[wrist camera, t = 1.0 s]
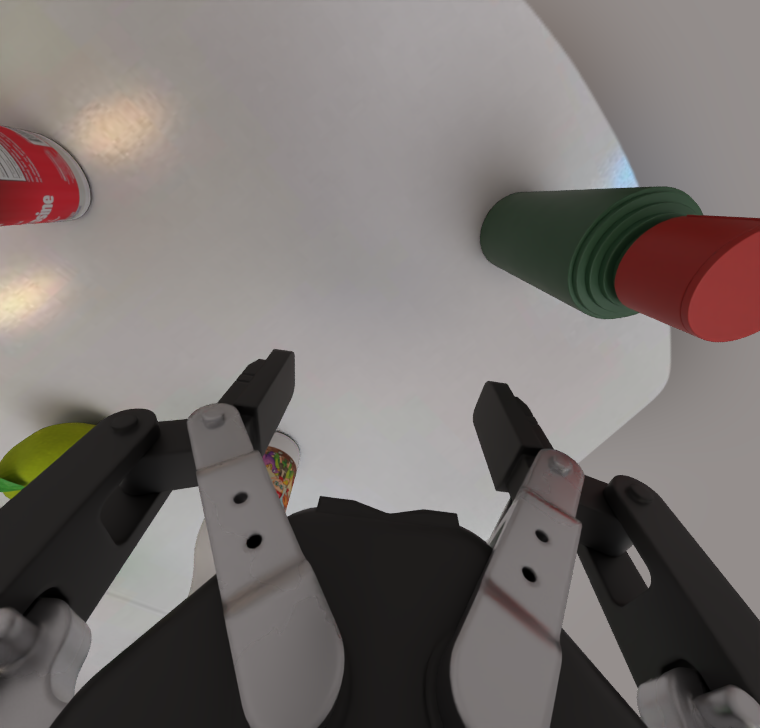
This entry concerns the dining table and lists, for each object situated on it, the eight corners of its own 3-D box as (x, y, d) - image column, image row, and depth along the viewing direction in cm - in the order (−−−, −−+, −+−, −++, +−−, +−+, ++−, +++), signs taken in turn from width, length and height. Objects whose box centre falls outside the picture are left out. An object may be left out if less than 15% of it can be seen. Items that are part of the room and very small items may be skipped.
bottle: (483, 195, 26) (692, 189, 9) (557, 189, 25) (903, 172, 9) (476, 270, 29) (621, 368, 12) (542, 265, 29) (778, 356, 12)
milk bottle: (281, 477, 42) (219, 672, 25) (232, 453, 40) (124, 651, 22) (312, 447, 40) (266, 642, 22) (262, 419, 37) (165, 615, 20)
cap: (632, 218, 12) (724, 225, 9) (731, 210, 12) (859, 214, 9) (602, 313, 14) (668, 346, 11) (687, 306, 14) (778, 338, 11)
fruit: (88, 393, 34) (-8, 459, 26) (154, 443, 38) (92, 514, 30) (41, 425, 36) (-62, 496, 28) (109, 469, 41) (38, 543, 32)
